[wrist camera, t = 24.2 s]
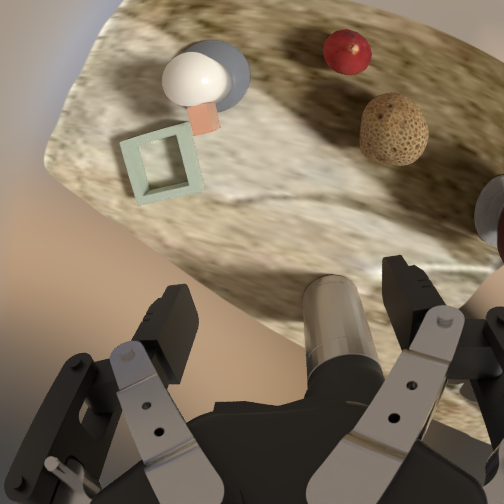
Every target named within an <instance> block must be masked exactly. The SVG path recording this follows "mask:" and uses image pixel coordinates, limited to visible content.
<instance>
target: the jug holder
mask: <svg viewBox="0 0 504 504" xmlns="http://www.w3.org/2000/svg"><path fill="white" fill-rule="evenodd" d="M173 135H177V139H178V144H179V148H180V152H181V155H182V159H183V163H184V167H185V171H186V175H187V179H188V182H183V183H179V184H174V185H170V186H165V187H161V188H157V189H152V190H150V186H149V183H148V180H147V176H146V173H145V169H144V165H143V162H142V158H141V154H140V151H139V147H138V145H141V144H144V143H148V142H151V141H155V140H158V139H162V138H166V137H169V136H173ZM119 143H120V147H121V150H122V154H123V158H124V161H125V165H126V168H127V172H128V175H129V179H130V182H131V185H132V189H133V192H134V195H135V198H136V202H137V205H138V206H140V205H144V204H149V203H153V202H158V201H162V200H167V199H172V198H176V197H181V196H186V195H191V194H196V193H200V192H201V191H202V190H203V188H204V187H205V184H204V180H203V176H202V172H201V168H200V164H199V160H198V156H197V152H196V147H195V143H194V139H193V135H192V131H191V127H190V122H185V123H182V124H178V125H174V126H170V127H167V128H163V129H160V130H156V131H153V132H149V133H146V134H143V135H140V136H136V137H133V138H130V139H127V140H124V141H121V142H119Z"/></svg>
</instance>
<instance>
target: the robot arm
mask: <svg viewBox="0 0 504 504" xmlns="http://www.w3.org/2000/svg"><path fill="white" fill-rule="evenodd" d="M382 297H383V303H384V306H385V308H386V311H387V313H388V316H389V318H390V321H391V324H392V326H393V329H394V331H395V334H396V337H397V339H398V342H399V345H400V347H401V350H402V352H401V354H400V356H399V358H398V359H397V361H396V363H395V365H394V366H393V368H392V370H391V371H390V373H389V375H388V376H387V378H386V380H385V378H384V376H383V373H382V369H381V365H380V362H379V358H378V355H377V352H376V348H375V345H374V341H373V338H372V335H371V331H370V328H369V325H368V322H367V318H366V315H365V312H364V309H363V306H362V302H361V299H360V296H359V293H358V290H357V288H356V286H355V285H354V283H353V282H352V281H350V280H349V279H347V278H345V277H342V276H337V275H328V276H324V277H321V278H319V279H317V280H315V281H314V282H312V283H311V284H310V285H309V286H308V287H307V289H306V290H305V292H304V295H303V300H302V304H303V319H304V333H305V349H306V367H307V385H308V389H307V391H306V394H305V396H304V399H301V400H298V401H294V402H291V403H288V404H284V405H281V406H274V405H266V404H260V403H254V402H247V401H239V402H238V401H237V402H215V405H214V410H213V412H209V413H206V414H203V415H200V416H198V417H196V418H194V419H192V420H190V421H189V422H187V423H186V421H185V420H184V418H183V416H182V415H181V413H180V411H179V409H178V408H177V406H176V404H175V403H174V401H173V399H172V398H171V396H170V394H169V392H168V390H167V388H168V385H169V384H180V381H181V379H182V376H183V372H184V369H185V366H186V363H187V360H188V357H189V354H190V351H191V348H192V345H193V342H194V339H195V335H196V333H197V330H198V325H199V318H198V313H197V311H196V308H195V305H194V302H193V299H192V297H191V294H190V291H189V288H188V286H187V285H186V284H178V285H170V286H168V287H167V288H166V290H165V292H164V294H163V296H162V298H158V299H157V300H156V301H155V302H154V303H153V304H152V305H151V306H150V307H149V309H148V311H147V313H146V315H145V316H144V318H143V322H141V324H140V325H139V327H138V329H137V331H136V333H135V335H134V336H133V338H132V340H131V341H128V342H125V343H122V344H120V345H119V346H117V347H116V348H115V349H114V350H113V351H112V353H111V355H110V358H109V359H105V360H101V361H97V362H94V361H93V359H92V357H91V356H90V355H89V354H87V353H79V354H76V355H74V356H72V357H71V358H69V359H68V360H67V361H66V362H65V364H64V365H63V367H62V369H61V371H60V372H59V374H58V376H57V378H56V379H55V381H54V383H53V385H52V386H51V388H50V390H49V392H48V394H47V395H46V397H45V399H44V401H43V403H42V405H41V406H40V408H39V410H38V412H37V414H36V416H35V418H34V420H33V422H32V424H31V426H30V428H29V430H28V432H27V434H26V436H25V438H24V440H23V442H22V444H21V446H20V448H19V451H18V452H17V455H16V457H15V459H14V461H13V463H12V465H11V468H10V470H9V472H8V475H7V477H6V479H5V484H4V489H5V493H6V495H7V496H8V498H9V499H10V500H12V501H13V502H15V503H16V504H504V307H495V308H492V309H490V310H489V311H488V312H487V315H486V319H482V320H481V319H465V318H464V316H463V314H462V313H461V312H460V311H459V310H458V309H456V308H454V307H451V306H447V305H446V304H445V302H444V301H443V299H442V298H441V296H440V295H439V293H438V292H437V290H436V288H435V287H434V286H433V284H432V282H431V281H430V280H429V278H428V276H427V275H426V273H425V272H424V271H423V270H422V269H420V268H418V267H417V266H415V265H412V266H408V264H407V263H406V261H405V260H404V258H403V257H402V255H396V256H390V257H384V258H383V260H382ZM448 379H469V380H470V382H471V385H472V388H473V391H474V393H475V396H476V399H477V402H478V404H479V407H480V410H481V413H482V416H483V419H484V422H485V425H486V428H487V431H488V435H489V438H490V441H491V445H492V448H493V453H492V454H491V456H490V457H489V459H488V461H487V463H486V466H485V483H484V486H483V487H482V486H481V484H480V483H479V482H478V481H477V480H476V479H475V478H474V477H473V476H471V475H470V474H468V473H467V472H465V471H464V470H463V469H461V468H460V467H458V466H456V465H455V464H453V463H452V462H451V461H449V460H448V459H446V458H445V457H443V456H442V455H441V454H439V453H438V452H436V451H435V450H433V449H432V448H431V447H429V446H428V445H426V444H425V443H423V442H422V439H423V437H424V435H425V432H426V430H427V428H428V426H429V424H430V421H431V419H432V417H433V415H434V412H435V410H436V408H437V406H438V403H439V401H440V399H441V396H442V394H443V391H444V389H445V387H446V384H447V381H448ZM83 402H85V403H86V404H87V405H88V409H87V411H86V414H85V416H84V418H83V421H82V423H81V424H80V421H79V411H80V409H81V407H82V404H83ZM122 410H123V412H124V415H125V418H126V421H127V423H128V426H129V428H130V431H131V434H132V436H133V438H134V441H135V443H136V445H137V448H138V450H139V453H140V455H141V457H142V460H141V461H139V462H138V463H137V464H135V465H134V466H133V467H132V468H130V469H129V470H128V471H126V472H125V473H124V474H122V475H121V476H120V477H119V478H117V479H116V480H114V481H113V482H112V483H110V484H109V485H108V486H107V487H105V488H104V489H102V487H101V483H100V481H99V478H100V475H101V472H102V469H103V466H104V463H105V460H106V457H107V453H108V450H109V448H110V445H111V441H112V439H113V436H114V433H115V430H116V427H117V424H118V421H119V418H120V415H121V413H122Z"/></svg>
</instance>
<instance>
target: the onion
mask: <svg viewBox="0 0 504 504" xmlns="http://www.w3.org/2000/svg"><path fill="white" fill-rule="evenodd" d="M323 55H324V59H325V61H326V63H327V64H328V66H329V67H330V68H331V69H333V70H334V71H336V72H337V73H341V74H345V75H355V74H358V73H360V72H362V71H364V70H365V69H366V68H367V67H368V65H369V64H370V61H371V56H372V53H371V47H370V45H369V43H368V42H367V40H366V39H365V38H364V37H363V36H362V35H360V34H359V33H357V32H355V31H351V30H347V29H345V30H339V31H336V32H334V33H333V34H331V35H330V36H328V38H327V39H326V41H325V42H324V46H323Z"/></svg>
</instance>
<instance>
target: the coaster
mask: <svg viewBox="0 0 504 504" xmlns="http://www.w3.org/2000/svg"><path fill="white" fill-rule="evenodd" d="M186 52H197V53H201V54H203V55H205V56H207V57H209V58H211V59H213V60H215V61H217V62H218V63H220V64H222V65H224V66H225V67H227V68H228V69H229V71H230V72H231V74H232V76H233V88H232V91H231V93H230V94H229V96H228V97H227V98H226V99H224V100H223V101H221V102H219V103H215V104H216V108H217V113H218V112H222V111H225V110H227V109H229V108H231V107H233V106H234V105H236V104H237V103H238V102H239V101H240V100H241V99H242V98H243V96H244V95H245V93H246V92H247V89H248V87H249V83H250V68H249V65H248V62H247V60H246V58H245V57H244V55H243V54H242V53H241V52H240V51H239V50H238V49H237V48H236V47H234V46H233V45H231V44H229V43H226V42H223V41H218V40H207V41H202V42H199V43H196V44H194V45H192V46H191V47H189V48H188V49H187V50H185V51H184V52H183V53H186ZM187 107H192V106H187Z"/></svg>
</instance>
